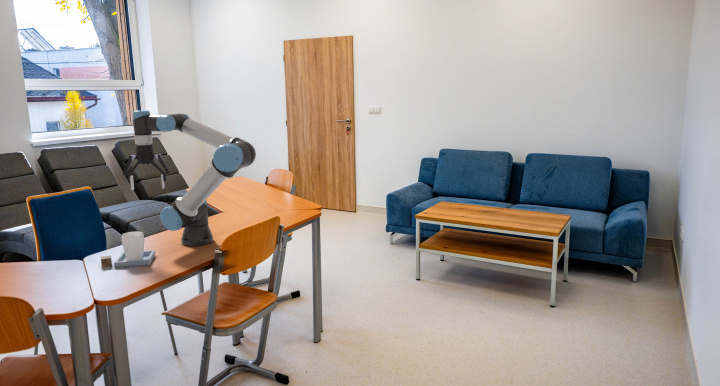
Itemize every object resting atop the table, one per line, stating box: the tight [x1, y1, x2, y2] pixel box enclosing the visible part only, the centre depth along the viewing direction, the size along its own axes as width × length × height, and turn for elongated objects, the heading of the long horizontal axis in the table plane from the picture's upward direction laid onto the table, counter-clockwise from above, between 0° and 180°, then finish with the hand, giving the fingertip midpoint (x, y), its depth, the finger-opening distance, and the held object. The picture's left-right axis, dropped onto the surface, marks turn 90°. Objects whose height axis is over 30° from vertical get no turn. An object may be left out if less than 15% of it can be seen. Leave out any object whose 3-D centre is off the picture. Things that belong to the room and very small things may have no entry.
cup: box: [121, 230, 145, 261], centre depth 219 cm, size 9×9×12 cm
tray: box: [113, 249, 156, 269], centre depth 220 cm, size 14×14×2 cm
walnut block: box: [100, 255, 113, 269], centre depth 215 cm, size 4×4×4 cm
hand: (148, 189), depth 236 cm, fingers open, 13 cm apart
